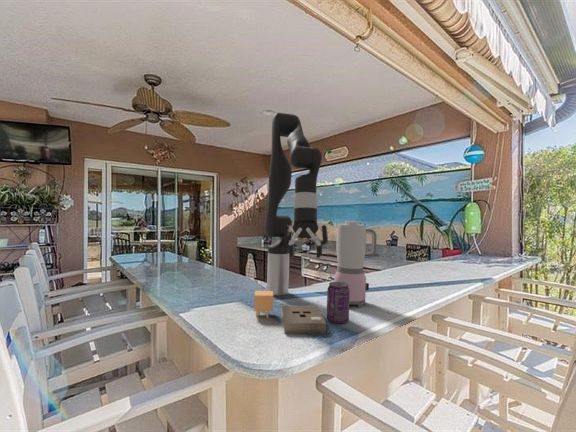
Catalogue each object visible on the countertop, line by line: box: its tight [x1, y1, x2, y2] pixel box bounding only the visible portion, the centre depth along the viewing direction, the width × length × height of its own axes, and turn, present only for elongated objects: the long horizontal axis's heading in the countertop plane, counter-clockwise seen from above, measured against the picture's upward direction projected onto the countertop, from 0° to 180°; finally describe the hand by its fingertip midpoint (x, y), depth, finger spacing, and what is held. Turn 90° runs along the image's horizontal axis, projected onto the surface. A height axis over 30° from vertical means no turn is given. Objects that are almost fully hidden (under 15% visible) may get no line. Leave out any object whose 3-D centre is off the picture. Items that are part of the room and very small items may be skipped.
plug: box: [254, 290, 274, 319], centre depth 100 cm, size 6×6×8 cm
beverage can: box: [326, 281, 350, 324], centre depth 97 cm, size 7×7×12 cm
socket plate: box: [280, 305, 327, 335], centre depth 94 cm, size 16×12×4 cm
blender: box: [333, 220, 377, 308], centre depth 117 cm, size 16×12×32 cm
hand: (305, 257), depth 97 cm, fingers open, 8 cm apart
